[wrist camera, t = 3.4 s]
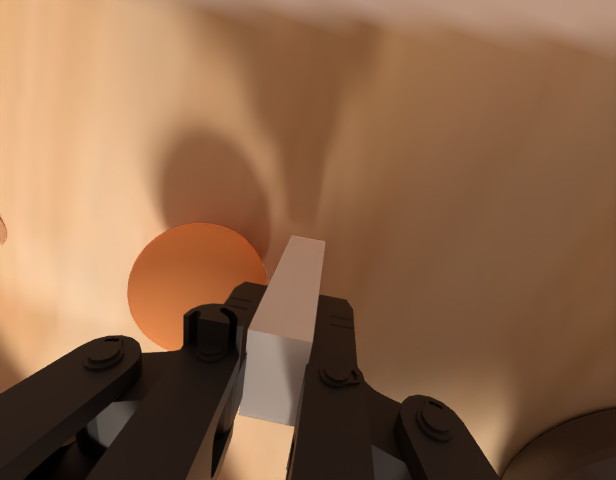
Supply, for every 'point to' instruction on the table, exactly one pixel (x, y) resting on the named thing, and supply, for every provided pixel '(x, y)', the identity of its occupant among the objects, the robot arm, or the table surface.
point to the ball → (187, 277)
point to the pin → (2, 233)
